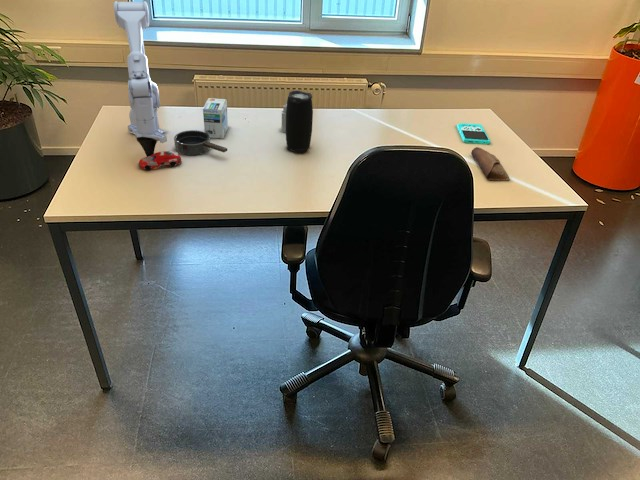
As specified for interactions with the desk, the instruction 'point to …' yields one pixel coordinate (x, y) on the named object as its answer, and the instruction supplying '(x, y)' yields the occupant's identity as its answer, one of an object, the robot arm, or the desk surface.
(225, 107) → the light bulb box
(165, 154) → the race car
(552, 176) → the desk surface
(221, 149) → the pan handle
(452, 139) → the desk surface
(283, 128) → the power adapter
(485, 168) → the sunglasses case
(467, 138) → the handheld game console
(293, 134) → the portable speaker
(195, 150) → the pan
